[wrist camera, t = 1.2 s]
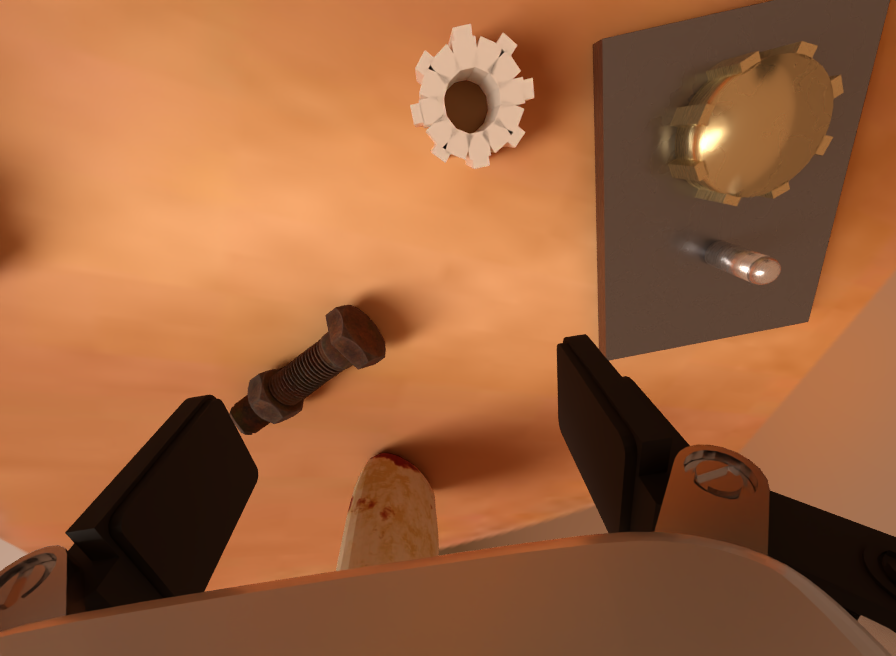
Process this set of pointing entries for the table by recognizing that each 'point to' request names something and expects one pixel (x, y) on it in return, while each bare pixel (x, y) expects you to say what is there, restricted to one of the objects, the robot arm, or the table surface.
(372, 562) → the food model
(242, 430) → the bolt
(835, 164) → the carrier plate
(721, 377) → the table surface
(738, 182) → the sun gear
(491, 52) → the planet gear
